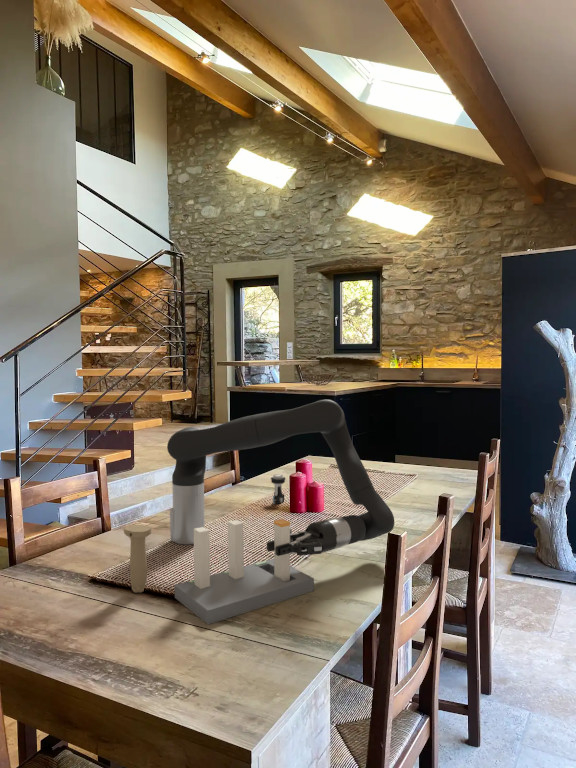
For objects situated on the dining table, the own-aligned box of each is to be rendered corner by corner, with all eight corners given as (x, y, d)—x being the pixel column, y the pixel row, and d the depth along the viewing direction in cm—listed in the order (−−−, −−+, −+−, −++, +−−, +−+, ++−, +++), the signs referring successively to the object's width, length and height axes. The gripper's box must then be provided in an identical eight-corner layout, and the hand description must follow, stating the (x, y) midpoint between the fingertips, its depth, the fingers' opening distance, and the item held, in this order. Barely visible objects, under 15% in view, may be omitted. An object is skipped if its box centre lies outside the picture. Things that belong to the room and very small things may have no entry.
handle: (142, 597, 134) (141, 533, 133) (121, 591, 137) (119, 529, 136) (156, 589, 139) (155, 527, 138) (135, 584, 141) (134, 523, 140)
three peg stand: (208, 624, 121) (207, 549, 120) (174, 597, 134) (173, 529, 133) (313, 590, 137) (313, 523, 136) (275, 569, 150) (274, 508, 149)
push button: (278, 506, 209) (278, 478, 208) (266, 504, 212) (266, 476, 211) (288, 501, 215) (288, 474, 214) (275, 499, 218) (275, 473, 217)
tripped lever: (281, 582, 137) (281, 523, 136) (274, 578, 140) (273, 520, 139) (290, 580, 139) (290, 521, 138) (282, 576, 141) (282, 518, 140)
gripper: (311, 513, 152) (255, 526, 142) (347, 527, 141) (289, 541, 131) (311, 541, 153) (255, 556, 143) (347, 557, 141) (289, 574, 131)
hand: (272, 549), depth 137 cm, fingers closed on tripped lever, 3 cm apart
